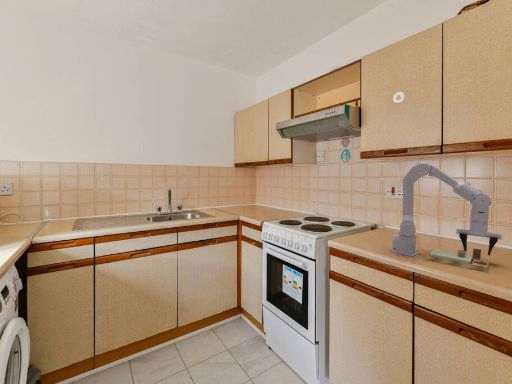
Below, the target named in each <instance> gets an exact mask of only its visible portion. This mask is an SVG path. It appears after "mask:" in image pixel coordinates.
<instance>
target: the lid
mask: <svg viewBox="0 0 512 384" xmlns="http://www.w3.org/2000/svg"><path fill="white" fill-rule="evenodd" d="M431 251H432V252H431ZM431 251H430V252H431V253H430V252H429V253H430V256H433V257H438V258H443V259H449V260H454V261H459V262H464V263H469V264H470V263H471V261H472V259H473V255H469V254H467V251H464V249H458V250H457V252H452V251H447V250H441V249H435V248H434V249H433V250H431Z"/></svg>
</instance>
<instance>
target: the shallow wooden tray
mask: <svg viewBox="0 0 512 384" xmlns="http://www.w3.org/2000/svg"><path fill="white" fill-rule="evenodd" d="M432 251H433V250H431V251H430V252H429V253H428V254H426V256H425V257H426V260H425V261H428V262H432V263H433V262H434V263H439V264H443V265H448V266H453V267H459V268H463V269H467V270H473V271H478V272H482V273H488V270H489V263H490V261H487V260H484V259H483V260H482V259H480V260H478V259H472V261H471V263H470V264H469V263H464V262H459V261H454V260H449V259H443V258H438V257H433V256H430V253H431V252H432Z"/></svg>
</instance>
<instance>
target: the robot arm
mask: <svg viewBox="0 0 512 384" xmlns="http://www.w3.org/2000/svg"><path fill="white" fill-rule="evenodd" d="M427 175H428V177H431V178H432V177H435V178H436V179H438V180H440V181H441V182H443V183H444V184H446V185H448V186H450V187H451V188H452V191H453V193H455V194H456V195H458V196H459V197H461V198H462V199H464V200H466V201H467V202H469V203H470V204H471V209H470V219H469V222H470V223H469V229H464V228H463V229H461V228H456V229H455V231H456V235H458V236H459V239H460V241H461V243H462V246H463V251H466V252H467V250H468V244H467V243H468V236H475V237H481V238H488V239H489V240H488V241H489V243H488V251H487V256H491V254H492V251H493V248H494V247H495V245H496V244H497V242H498V241H499V240H501V241H502V239H503V234H501V233H497V232H496V233H495V232H490V231H489V232H488V228H489V227H488V226H489V215H490V214H489V213H490V211H489V210H490V209H489V207H490V206H491V205H492V203H493V201H492V199H491V198H490V196H489V195H487V194H485V193H483V191H482V190H480V189H477V188H475V187H473V186H472V184H471V182H466V181H458V180H456V179H455V178H453V177H452V176H450V175H449V174H447V173H446V172H445V171H443V170H441V169H440V168H438V167H436V166H435V165H430V164H429V163H427V162H425V161H420V162H418V163H416V164H415V165H413V166H412V167H411V168H410V169H409V170H408V172H407V173H406V174H405V175H404V176H403V178H402V221H401V223H400V227H399V231H400V232H398V233H394V234H393V236H392V248H391V253H393V254H399V255H403V256H408V257H412V258H414V257H415V256H417V255H418V253H419V252H418V251H416V248H417V244H416V243H417V235H416V229H417V228H416V224H415V223H414V198H415V196H414V187H415V183H416V182H417V181H419V179H421V178H423V177H426V176H427Z"/></svg>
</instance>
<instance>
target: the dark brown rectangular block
mask: <svg viewBox="0 0 512 384" xmlns="http://www.w3.org/2000/svg"><path fill="white" fill-rule="evenodd" d="M472 256H473V259H478V260H482V259H481V256H482V249H481V248H480V249H479V248H475V247H474V248H472Z"/></svg>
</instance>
